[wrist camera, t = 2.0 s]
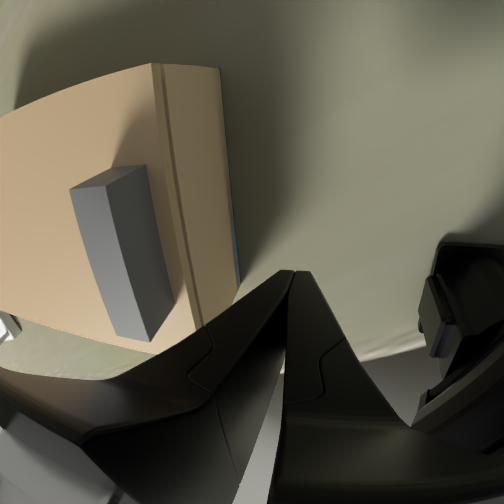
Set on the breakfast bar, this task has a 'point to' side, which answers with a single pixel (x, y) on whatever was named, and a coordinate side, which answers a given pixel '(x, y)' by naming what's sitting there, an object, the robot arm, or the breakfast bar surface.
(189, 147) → the box
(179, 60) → the breakfast bar surface
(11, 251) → the lid
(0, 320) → the file sorter
